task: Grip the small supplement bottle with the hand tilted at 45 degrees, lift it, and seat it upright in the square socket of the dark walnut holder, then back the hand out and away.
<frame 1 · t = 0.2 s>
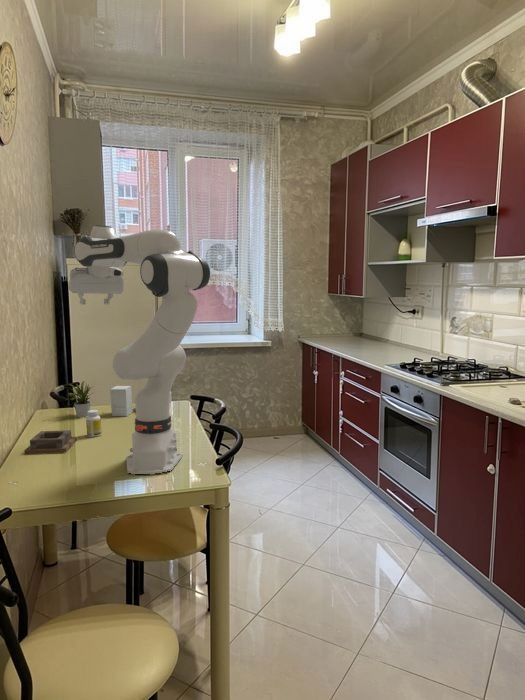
hand: (94, 304, 189), 51 cm above the table, tool tilted 20°, fingers open, 8 cm apart
paper bowls: (155, 409, 236), on the table
socket holder: (51, 447, 182), on the table
house plant: (81, 416, 225), on the table
supplement bottle: (94, 435, 196), on the table
supplement box: (122, 414, 227), on the table
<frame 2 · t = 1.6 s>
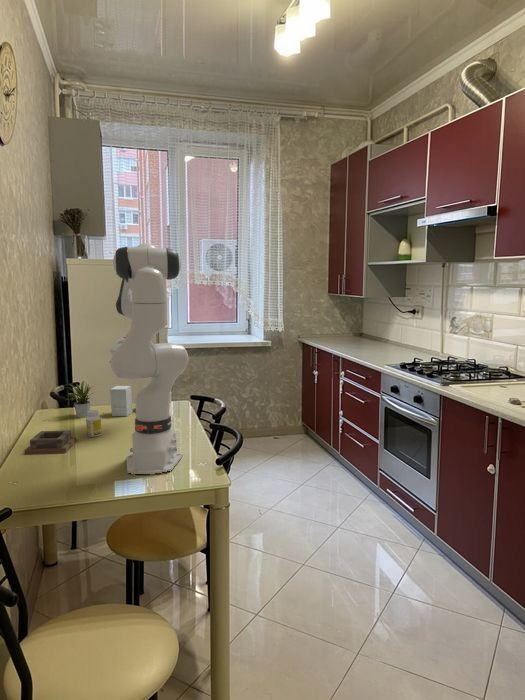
hand: (117, 364, 201), 27 cm above the table, tool tilted 45°, fingers open, 8 cm apart
nothing on the table moved.
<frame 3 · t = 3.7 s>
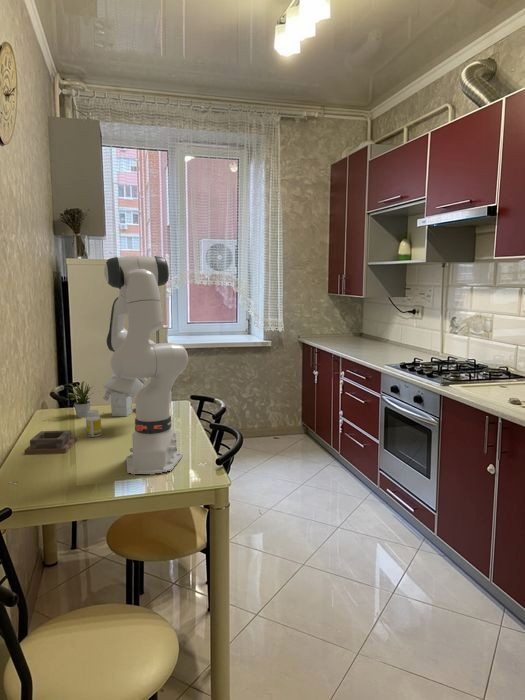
hand: (111, 401, 200), 12 cm above the table, tool tilted 45°, fingers open, 8 cm apart
nothing on the table moved.
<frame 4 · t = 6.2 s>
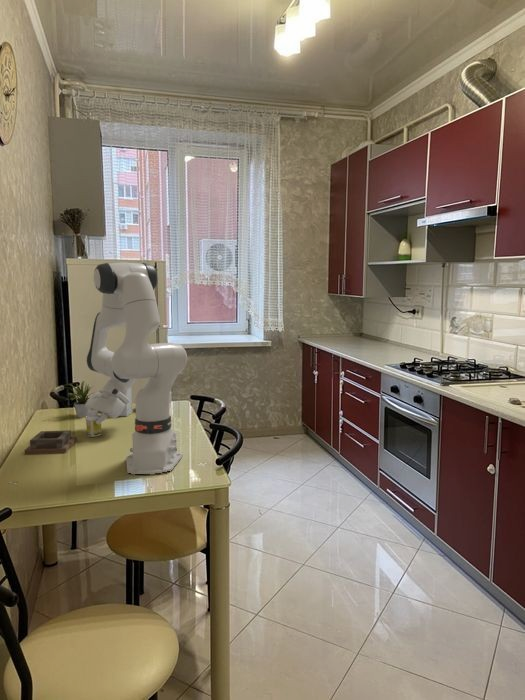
hand: (92, 422, 194), 5 cm above the table, tool tilted 45°, fingers closed on supplement bottle, 5 cm apart
supplement bottle: (94, 435, 196), on the table, touching gripper
everything else where it was.
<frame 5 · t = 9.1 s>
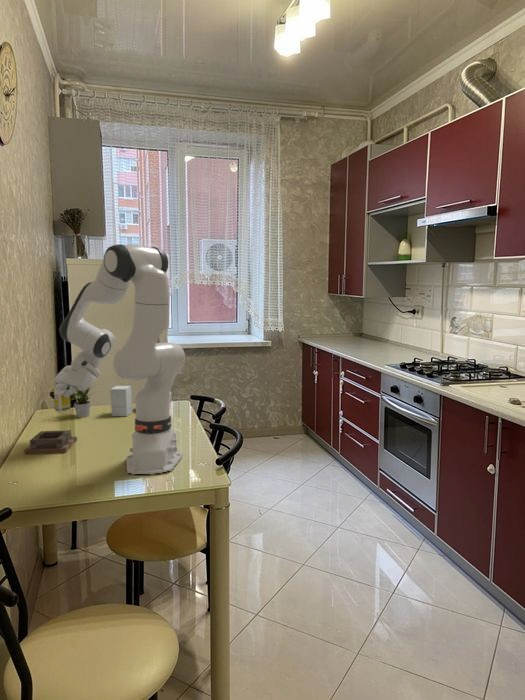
hand: (60, 396, 183), 18 cm above the table, tool tilted 45°, fingers closed on supplement bottle, 5 cm apart
supplement bottle: (63, 410, 184), point 12 cm above the table, touching gripper
everything else where it was.
when the fingers open (8 cm above the table, at t = 12.3 s): supplement bottle drops 1 cm, resting on socket holder.
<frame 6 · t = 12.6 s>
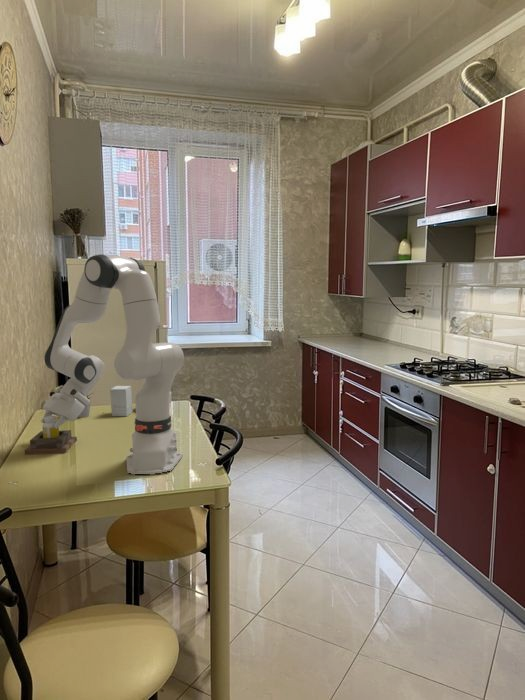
hand: (48, 425, 180), 8 cm above the table, tool tilted 45°, fingers open, 8 cm apart
supplement bottle: (51, 443, 182), point 1 cm above the table, touching socket holder
everything else where it was.
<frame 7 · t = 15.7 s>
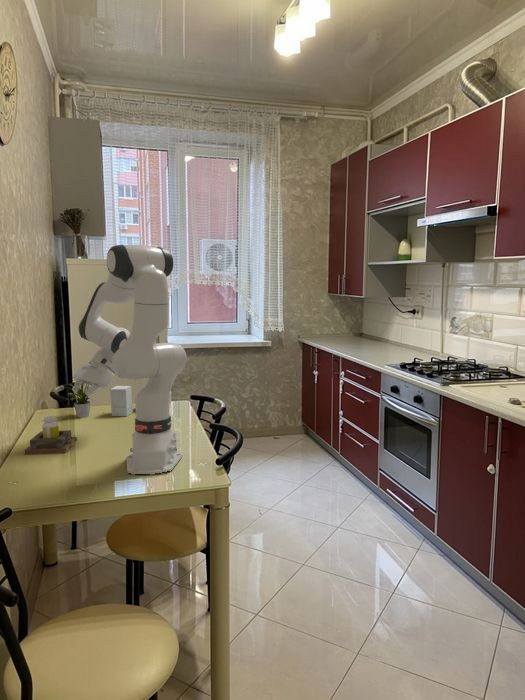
hand: (80, 392, 188), 18 cm above the table, tool tilted 45°, fingers open, 8 cm apart
nothing on the table moved.
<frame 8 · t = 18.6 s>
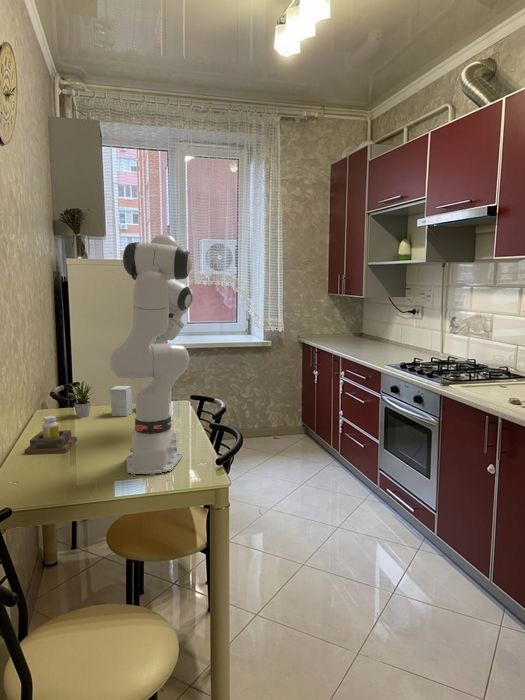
hand: (148, 345, 198), 34 cm above the table, tool tilted 45°, fingers open, 8 cm apart
nothing on the table moved.
at the end: supplement bottle 0.1 cm off-centre on the socket holder, point 1.3 cm above the socket holder's base; supplement bottle tilted 0°; the gripper is holding nothing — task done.
